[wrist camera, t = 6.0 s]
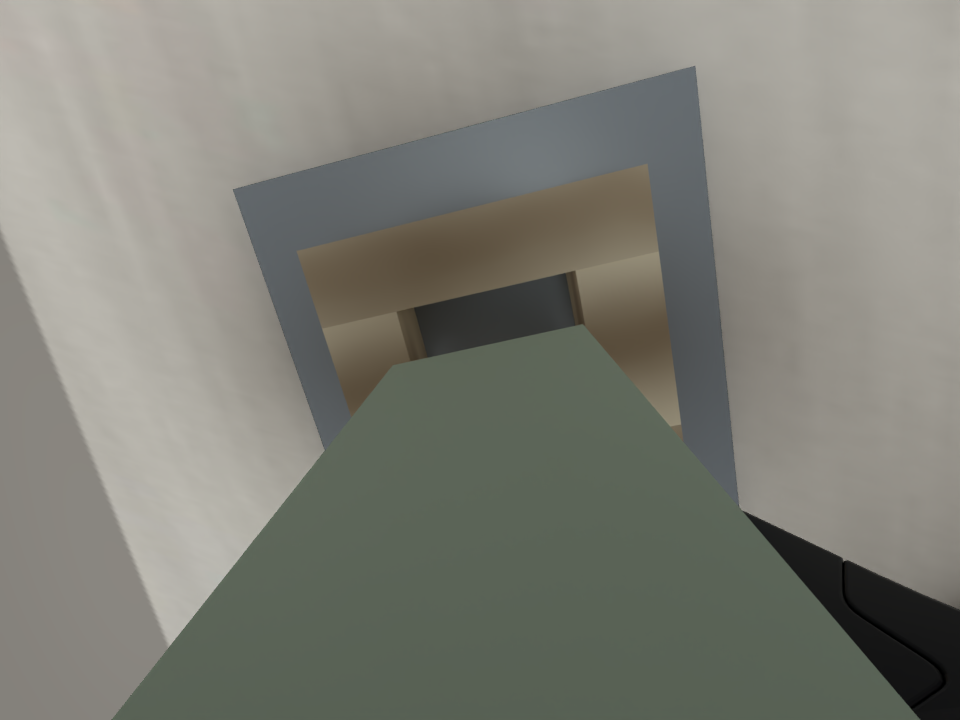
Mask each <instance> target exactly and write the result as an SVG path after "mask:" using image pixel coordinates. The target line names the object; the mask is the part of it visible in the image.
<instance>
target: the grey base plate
mask: <svg viewBox="0 0 960 720" xmlns="http://www.w3.org/2000/svg"><path fill="white" fill-rule="evenodd" d="M644 164H648V172H649V179H650V187H651V195H652V203H653V210H654V218H655V226H656V233H657V241H658V249H659V257H660V264H661V272H662V280H663V288H664V295H665V303H666V311H667V318H668V326H669V334H670V342H671V349H672V357H673V365H674V373H675V380H676V388H677V396H678V404H679V411H680V419H681V427H682V434H683V442H684V443H685V444H686V446H687V447H688V448H689V449H690V450H691V451H692V453H693V454H694V455H695V456H696V457H697V458H698V460H699V461H700V462H701V463H702V464H703V466H704V467H705V468H706V469H707V470H708V471H709V473H710V474H711V475H712V476H713V477H714V478H715V480H716V481H717V482H718V483H719V484H720V485H721V487H722V488H723V489H724V490H725V491H726V493H727V494H728V495H729V496H730V497H731V498H732V500H733V501H734V502H735V503H736V504H737V505H738V507H739V502H738V492H737V482H736V472H735V462H734V452H733V442H732V432H731V421H730V411H729V401H728V391H727V381H726V371H725V361H724V351H723V341H722V331H721V321H720V310H719V300H718V290H717V280H716V270H715V260H714V250H713V240H712V230H711V220H710V209H709V199H708V189H707V179H706V169H705V159H704V149H703V139H702V129H701V119H700V108H699V98H698V88H697V78H696V68H695V66H693V67H689V68H686V69H682V70H678V71H674V72H671V73H667V74H663V75H659V76H656V77H652V78H648V79H644V80H641V81H637V82H633V83H629V84H626V85H622V86H618V87H614V88H611V89H607V90H603V91H599V92H596V93H592V94H588V95H584V96H581V97H577V98H573V99H570V100H566V101H562V102H558V103H555V104H551V105H547V106H543V107H540V108H536V109H532V110H528V111H525V112H521V113H517V114H513V115H510V116H506V117H502V118H498V119H495V120H491V121H487V122H483V123H480V124H476V125H472V126H469V127H465V128H461V129H457V130H454V131H450V132H446V133H442V134H439V135H435V136H431V137H427V138H424V139H420V140H416V141H412V142H409V143H405V144H401V145H397V146H394V147H390V148H386V149H382V150H379V151H375V152H371V153H368V154H364V155H360V156H356V157H353V158H349V159H345V160H341V161H338V162H334V163H330V164H326V165H323V166H319V167H315V168H311V169H308V170H304V171H300V172H296V173H293V174H289V175H285V176H281V177H278V178H274V179H270V180H267V181H263V182H259V183H255V184H252V185H248V186H244V187H240V188H237V189H233V191H234V194H235V197H236V199H237V202H238V205H239V208H240V211H241V214H242V216H243V219H244V222H245V225H246V228H247V231H248V233H249V236H250V239H251V242H252V245H253V248H254V251H255V253H256V256H257V259H258V262H259V265H260V268H261V270H262V273H263V276H264V279H265V282H266V285H267V287H268V290H269V293H270V296H271V299H272V302H273V304H274V307H275V310H276V313H277V316H278V319H279V321H280V324H281V327H282V330H283V333H284V336H285V338H286V341H287V344H288V347H289V350H290V353H291V355H292V358H293V361H294V364H295V367H296V370H297V372H298V375H299V378H300V381H301V384H302V387H303V389H304V392H305V395H306V398H307V401H308V404H309V406H310V409H311V412H312V415H313V418H314V421H315V423H316V426H317V429H318V432H319V435H320V438H321V441H322V443H323V446H324V449H325V450H326V449H327V448H328V446H329V445H330V444H331V442H332V441H333V440H334V439H335V437H336V436H337V435H338V434H339V432H340V431H341V430H342V429H343V427H344V426H345V425H346V424H347V422H348V421H349V420H350V419H351V415H350V412H349V409H348V406H347V403H346V400H345V397H344V394H343V391H342V388H341V385H340V382H339V378H338V375H337V372H336V369H335V366H334V363H333V360H332V357H331V354H330V351H329V348H328V345H327V342H326V339H325V336H324V333H323V330H322V327H321V324H320V321H319V318H318V315H317V312H316V309H315V306H314V303H313V300H312V297H311V294H310V290H309V287H308V284H307V281H306V278H305V275H304V272H303V269H302V266H301V263H300V260H299V257H298V254H297V251H299V250H303V249H307V248H311V247H315V246H319V245H323V244H327V243H331V242H335V241H339V240H343V239H347V238H351V237H355V236H359V235H363V234H367V233H371V232H375V231H379V230H383V229H387V228H391V227H395V226H399V225H403V224H407V223H411V222H415V221H419V220H423V219H427V218H431V217H435V216H439V215H443V214H447V213H451V212H455V211H459V210H463V209H468V208H472V207H476V206H480V205H484V204H488V203H492V202H496V201H500V200H504V199H508V198H512V197H516V196H520V195H524V194H528V193H532V192H536V191H540V190H544V189H548V188H552V187H556V186H560V185H564V184H568V183H572V182H576V181H580V180H584V179H588V178H592V177H596V176H600V175H604V174H608V173H612V172H616V171H620V170H624V169H628V168H632V167H636V166H640V165H644ZM414 309H415V313H416V317H417V320H418V324H419V328H420V331H421V335H422V339H423V342H424V346H425V350H426V353H427V357H428V358H429V357H433V356H438V355H442V354H447V353H452V352H456V351H461V350H466V349H470V348H475V347H479V346H484V345H489V344H493V343H498V342H503V341H507V340H512V339H516V338H521V337H526V336H530V335H535V334H540V333H544V332H549V331H553V330H558V329H563V328H567V327H572V326H575V321H574V316H573V310H572V305H571V299H570V294H569V288H568V283H567V277H566V273H563V274H558V275H554V276H550V277H545V278H541V279H536V280H532V281H528V282H523V283H519V284H515V285H510V286H506V287H502V288H497V289H493V290H488V291H484V292H480V293H475V294H471V295H467V296H462V297H458V298H454V299H449V300H445V301H441V302H436V303H432V304H427V305H423V306H419V307H414Z"/></svg>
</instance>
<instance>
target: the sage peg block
mask: <svg viewBox="0 0 960 720" xmlns="http://www.w3.org/2000/svg"><path fill="white" fill-rule="evenodd" d="M112 720H920V719H919V718H918V717H917V715H916V714H915V713H914V712H913V711H912V710H911V708H910V707H909V706H908V705H907V704H906V702H905V701H904V700H903V699H902V698H901V697H900V695H899V694H898V693H897V692H896V691H895V690H894V688H893V687H892V686H891V685H890V684H889V683H888V681H887V680H886V679H885V678H884V677H883V675H882V674H881V673H880V672H879V671H878V670H877V668H876V667H875V666H874V665H873V664H872V663H871V661H870V660H869V659H868V658H867V657H866V656H865V654H864V653H863V652H862V651H861V650H860V649H859V647H858V646H857V645H856V644H855V643H854V641H853V640H852V639H851V638H850V637H849V636H848V634H847V633H846V632H845V631H844V630H843V629H842V627H841V626H840V625H839V624H838V623H837V622H836V620H835V619H834V618H833V617H832V616H831V614H830V613H829V612H828V611H827V610H826V609H825V607H824V606H823V605H822V604H821V603H820V602H819V600H818V599H817V598H816V597H815V596H814V595H813V593H812V592H811V591H810V590H809V589H808V588H807V586H806V585H805V584H804V583H803V582H802V580H801V579H800V578H799V577H798V576H797V575H796V573H795V572H794V571H793V570H792V569H791V568H790V566H789V565H788V564H787V563H786V562H785V561H784V559H783V558H782V557H781V556H780V555H779V553H778V552H777V551H776V550H775V549H774V548H773V546H772V545H771V544H770V543H769V542H768V541H767V539H766V538H765V537H764V536H763V535H762V534H761V532H760V531H759V530H758V529H757V528H756V527H755V525H754V524H753V523H752V522H751V521H750V519H749V518H748V517H747V516H746V515H745V514H744V512H743V511H742V510H741V509H740V508H739V507H738V505H737V504H736V503H735V502H734V501H733V500H732V498H731V497H730V496H729V495H728V494H727V493H726V491H725V490H724V489H723V488H722V487H721V485H720V484H719V483H718V482H717V481H716V480H715V478H714V477H713V476H712V475H711V474H710V473H709V471H708V470H707V469H706V468H705V467H704V466H703V464H702V463H701V462H700V461H699V460H698V458H697V457H696V456H695V455H694V454H693V453H692V451H691V450H690V449H689V448H688V447H687V446H686V444H685V443H684V442H683V441H682V440H681V439H680V437H679V436H678V435H677V434H676V433H675V432H674V430H673V429H672V428H671V427H670V426H669V424H668V423H667V422H666V421H665V420H664V419H663V417H662V416H661V415H660V414H659V413H658V412H657V410H656V409H655V408H654V407H653V406H652V405H651V403H650V402H649V401H648V400H647V399H646V397H645V396H644V395H643V394H642V393H641V392H640V390H639V389H638V388H637V387H636V386H635V385H634V383H633V382H632V381H631V380H630V379H629V378H628V376H627V375H626V374H625V373H624V372H623V371H622V369H621V368H620V367H619V366H618V365H617V363H616V362H615V361H614V360H613V359H612V358H611V356H610V355H609V354H608V353H607V352H606V351H605V349H604V348H603V347H602V346H601V345H600V344H599V342H598V341H597V340H596V339H595V338H594V336H593V335H592V334H591V333H590V332H589V331H588V329H587V328H586V327H585V326H584V325H583V324H581V325H577V326H572V327H567V328H563V329H558V330H553V331H549V332H544V333H540V334H535V335H530V336H526V337H521V338H516V339H512V340H507V341H503V342H498V343H493V344H489V345H484V346H479V347H475V348H470V349H466V350H461V351H456V352H452V353H447V354H442V355H438V356H433V357H429V358H424V359H419V360H415V361H410V362H405V363H401V364H396V365H393V366H392V367H391V368H390V369H389V371H388V372H387V373H386V374H385V376H384V377H383V378H382V379H381V381H380V382H379V383H378V384H377V386H376V387H375V388H374V390H373V391H372V392H371V393H370V395H369V396H368V397H367V398H366V400H365V401H364V402H363V403H362V405H361V406H360V407H359V408H358V410H357V411H356V412H355V413H354V415H353V416H352V417H351V419H350V420H349V421H348V422H347V424H346V425H345V426H344V427H343V429H342V430H341V431H340V432H339V434H338V435H337V436H336V437H335V439H334V440H333V441H332V442H331V444H330V445H329V446H328V448H327V449H326V450H325V451H324V453H323V454H322V455H321V456H320V458H319V459H318V460H317V461H316V463H315V464H314V465H313V466H312V468H311V469H310V470H309V472H308V473H307V474H306V475H305V477H304V478H303V479H302V480H301V482H300V483H299V484H298V485H297V487H296V488H295V489H294V490H293V492H292V493H291V494H290V495H289V497H288V498H287V499H286V501H285V502H284V503H283V504H282V506H281V507H280V508H279V509H278V511H277V512H276V513H275V514H274V516H273V517H272V518H271V519H270V521H269V522H268V523H267V524H266V526H265V527H264V528H263V530H262V531H261V532H260V533H259V535H258V536H257V537H256V538H255V540H254V541H253V542H252V543H251V545H250V546H249V547H248V548H247V550H246V551H245V552H244V553H243V555H242V556H241V557H240V559H239V560H238V561H237V562H236V564H235V565H234V566H233V567H232V569H231V570H230V571H229V572H228V574H227V575H226V576H225V577H224V579H223V580H222V581H221V582H220V584H219V585H218V586H217V588H216V589H215V590H214V591H213V593H212V594H211V595H210V596H209V598H208V599H207V600H206V601H205V603H204V604H203V605H202V606H201V608H200V609H199V610H198V611H197V613H196V614H195V615H194V617H193V618H192V619H191V620H190V622H189V623H188V624H187V625H186V627H185V628H184V629H183V630H182V632H181V633H180V634H179V635H178V637H177V638H176V639H175V641H174V642H173V643H172V644H171V646H170V647H169V648H168V649H167V651H166V652H165V653H164V655H163V656H162V657H161V658H160V660H159V661H158V662H157V663H156V664H155V666H154V667H153V668H152V670H151V671H150V672H149V673H148V675H147V676H146V677H145V678H144V680H143V681H142V682H141V683H140V685H139V686H138V687H137V688H136V690H135V691H134V692H133V694H132V695H131V696H130V697H129V699H128V700H127V701H126V702H125V704H124V705H123V706H122V708H121V709H120V710H119V711H118V712H117V714H116V715H115V716H114V718H113V719H112Z"/></svg>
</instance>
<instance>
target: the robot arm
mask: <svg viewBox="0 0 960 720" xmlns="http://www.w3.org/2000/svg"><path fill="white" fill-rule="evenodd" d="M743 512H744V511H743ZM744 514H745V515H746V516H747V517H748V518H749V519H750V521H751V522H752V523H753V524H754V525H755V527H756V528H757V529H758V530H759V531H760V532H761V534H762V535H763V536H764V537H765V538H766V539H767V541H768V542H769V543H770V544H771V545H772V546H773V548H774V549H775V550H776V551H777V552H778V553H779V555H780V556H781V557H782V558H783V559H784V561H785V562H786V563H787V564H788V565H789V566H790V568H791V569H792V570H793V571H794V572H795V573H796V575H797V576H798V577H799V578H800V579H801V580H802V582H803V583H804V584H805V585H806V586H807V588H808V589H809V590H810V591H811V592H812V593H813V595H814V596H815V597H816V598H817V599H818V600H819V602H820V603H821V604H822V605H823V606H824V607H825V609H826V610H827V611H828V612H829V613H830V614H831V616H832V617H833V618H834V619H835V620H836V622H837V623H838V624H839V625H840V626H841V627H842V629H843V630H844V631H845V632H846V633H847V634H848V636H849V637H850V638H851V639H852V640H853V641H854V643H855V644H856V645H857V646H858V647H859V649H860V650H861V651H862V652H863V653H864V654H865V656H866V657H867V658H868V659H869V660H870V661H871V663H872V664H873V665H874V666H875V667H876V668H877V670H878V671H879V672H880V673H881V674H882V675H883V677H884V678H885V679H886V680H887V681H888V683H889V684H890V685H891V686H892V687H893V688H894V690H895V691H896V692H897V693H898V694H899V695H900V697H901V698H902V699H903V700H904V701H905V702H906V704H907V705H908V706H909V707H910V708H911V710H912V711H913V712H914V713H915V714H916V715H917V717H918V718H919V719H920V720H960V610H959V609H957V608H954V607H952V606H949V605H947V604H944V603H942V602H940V601H937V600H935V599H932V598H930V597H928V596H925V595H923V594H921V593H918V592H916V591H914V590H912V589H909V588H907V587H905V586H903V585H901V584H898V583H896V582H894V581H892V580H889V579H887V578H885V577H883V576H881V575H878V574H876V573H874V572H872V571H870V570H868V569H866V568H863V567H861V566H859V565H857V564H855V563H853V562H851V561H848V560H846V561H844V562H843V559H842V558H841V557H840V556H838V555H835V554H833V553H831V552H829V551H827V550H825V549H823V548H821V547H819V546H816V545H814V544H812V543H810V542H808V541H806V540H804V539H802V538H799V537H797V536H795V535H793V534H791V533H789V532H787V531H785V530H783V529H780V528H778V527H776V526H774V525H772V524H770V523H768V522H766V521H763V520H761V519H759V518H757V517H755V516H753V515H751V514H749V513H747V512H744Z"/></svg>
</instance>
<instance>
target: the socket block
mask: <svg viewBox="0 0 960 720" xmlns="http://www.w3.org/2000/svg"><path fill="white" fill-rule="evenodd" d="M297 254H298V257H299V260H300V263H301V266H302V269H303V272H304V275H305V278H306V281H307V284H308V287H309V290H310V294H311V297H312V300H313V303H314V306H315V309H316V312H317V315H318V318H319V321H320V324H321V327H322V330H323V333H324V336H325V339H326V342H327V345H328V348H329V351H330V354H331V357H332V360H333V363H334V366H335V369H336V372H337V375H338V378H339V382H340V385H341V388H342V391H343V394H344V397H345V400H346V403H347V406H348V409H349V412H350V415H351V417H352V416H353V415H354V413H355V412H356V411H357V410H358V408H359V407H360V406H361V405H362V403H363V402H364V401H365V400H366V398H367V397H368V396H369V395H370V393H371V392H372V391H373V390H374V388H375V387H376V386H377V384H378V383H379V382H380V381H381V379H382V378H383V377H384V376H385V374H386V373H387V372H388V371H389V369H390V368H391V367H392V366H393V365H396V364H401V363H405V362H410V361H415V360H419V359H424V358H428V357H427V353H426V350H425V346H424V342H423V339H422V335H421V331H420V328H419V324H418V320H417V317H416V313H415V309H414V307H419V306H423V305H427V304H432V303H436V302H441V301H445V300H449V299H454V298H458V297H462V296H467V295H471V294H475V293H480V292H484V291H488V290H493V289H497V288H502V287H506V286H510V285H515V284H519V283H523V282H528V281H532V280H536V279H541V278H545V277H550V276H554V275H558V274H563V273H566V277H567V283H568V288H569V294H570V299H571V305H572V310H573V316H574V321H575V326H577V325H581V324H583V325H584V326H585V327H586V328H587V329H588V331H589V332H590V333H591V334H592V335H593V336H594V338H595V339H596V340H597V341H598V342H599V344H600V345H601V346H602V347H603V348H604V349H605V351H606V352H607V353H608V354H609V355H610V356H611V358H612V359H613V360H614V361H615V362H616V363H617V365H618V366H619V367H620V368H621V369H622V371H623V372H624V373H625V374H626V375H627V376H628V378H629V379H630V380H631V381H632V382H633V383H634V385H635V386H636V387H637V388H638V389H639V390H640V392H641V393H642V394H643V395H644V396H645V397H646V399H647V400H648V401H649V402H650V403H651V405H652V406H653V407H654V408H655V409H656V410H657V412H658V413H659V414H660V415H661V416H662V417H663V419H664V420H665V421H666V422H667V423H668V424H669V426H670V427H671V428H672V429H673V430H674V432H675V433H676V434H677V435H678V436H679V437H680V439H681V440H682V441H683V434H682V427H681V419H680V411H679V404H678V396H677V388H676V380H675V373H674V365H673V357H672V349H671V342H670V334H669V326H668V318H667V311H666V303H665V295H664V288H663V280H662V272H661V264H660V257H659V249H658V241H657V233H656V226H655V218H654V210H653V203H652V195H651V187H650V179H649V172H648V164H644V165H640V166H636V167H632V168H628V169H624V170H620V171H616V172H612V173H608V174H604V175H600V176H596V177H592V178H588V179H584V180H580V181H576V182H572V183H568V184H564V185H560V186H556V187H552V188H548V189H544V190H540V191H536V192H532V193H528V194H524V195H520V196H516V197H512V198H508V199H504V200H500V201H496V202H492V203H488V204H484V205H480V206H476V207H472V208H468V209H463V210H459V211H455V212H451V213H447V214H443V215H439V216H435V217H431V218H427V219H423V220H419V221H415V222H411V223H407V224H403V225H399V226H395V227H391V228H387V229H383V230H379V231H375V232H371V233H367V234H363V235H359V236H355V237H351V238H347V239H343V240H339V241H335V242H331V243H327V244H323V245H319V246H315V247H311V248H307V249H303V250H299V251H297Z"/></svg>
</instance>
